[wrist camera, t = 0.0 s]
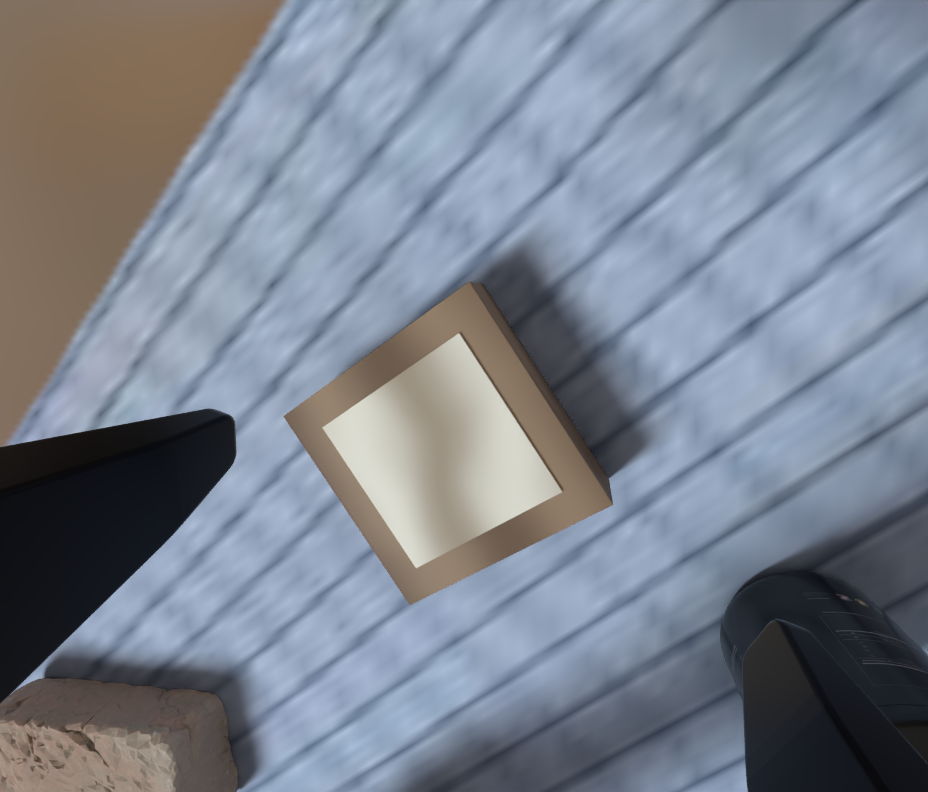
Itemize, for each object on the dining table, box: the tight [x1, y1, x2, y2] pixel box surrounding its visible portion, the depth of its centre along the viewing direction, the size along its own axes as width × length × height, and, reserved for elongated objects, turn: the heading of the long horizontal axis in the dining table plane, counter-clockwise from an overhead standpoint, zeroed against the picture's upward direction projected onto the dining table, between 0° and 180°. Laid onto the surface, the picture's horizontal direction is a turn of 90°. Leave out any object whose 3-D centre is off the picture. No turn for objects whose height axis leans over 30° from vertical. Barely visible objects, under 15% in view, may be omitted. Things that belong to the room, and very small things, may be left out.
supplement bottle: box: [720, 572, 928, 763], centre depth 16 cm, size 7×7×12 cm
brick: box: [0, 678, 238, 792], centre depth 32 cm, size 16×8×5 cm, turn 98°
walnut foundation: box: [284, 282, 613, 605], centre depth 22 cm, size 11×11×3 cm
